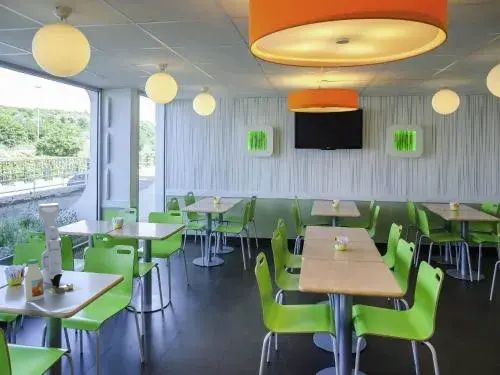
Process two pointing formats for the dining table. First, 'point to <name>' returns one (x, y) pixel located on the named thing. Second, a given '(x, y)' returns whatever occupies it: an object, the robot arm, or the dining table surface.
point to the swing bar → (67, 287)
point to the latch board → (63, 290)
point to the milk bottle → (33, 281)
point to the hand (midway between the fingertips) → (56, 288)
